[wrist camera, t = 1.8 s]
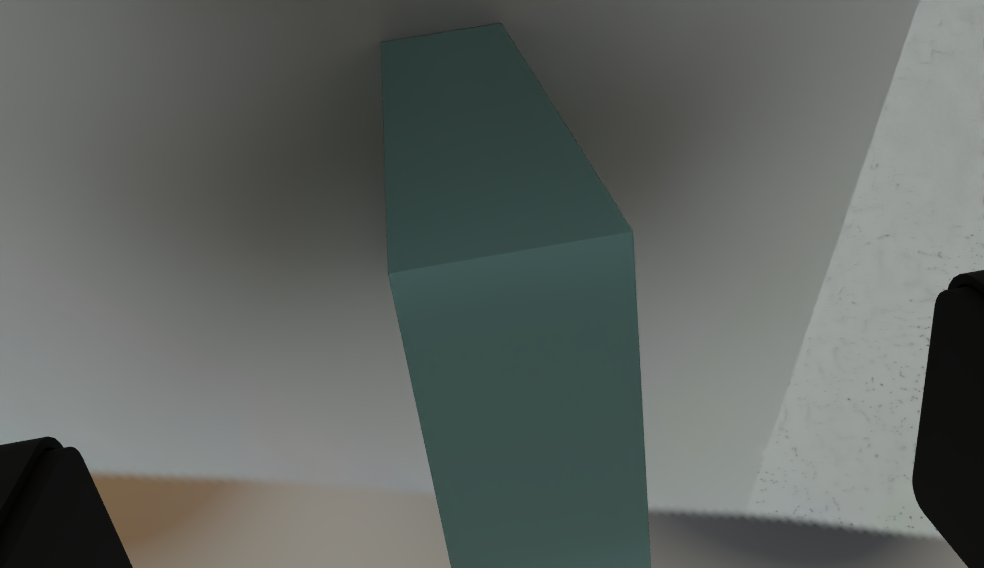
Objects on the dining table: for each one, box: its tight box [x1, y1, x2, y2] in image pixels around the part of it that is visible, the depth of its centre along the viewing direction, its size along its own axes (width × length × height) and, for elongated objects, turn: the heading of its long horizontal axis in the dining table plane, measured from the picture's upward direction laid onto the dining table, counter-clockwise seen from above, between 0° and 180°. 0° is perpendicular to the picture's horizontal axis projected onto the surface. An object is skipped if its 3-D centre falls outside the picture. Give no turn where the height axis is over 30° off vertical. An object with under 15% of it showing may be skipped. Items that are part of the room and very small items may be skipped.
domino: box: [381, 23, 651, 568], centre depth 13 cm, size 5×2×9 cm, turn 7°
